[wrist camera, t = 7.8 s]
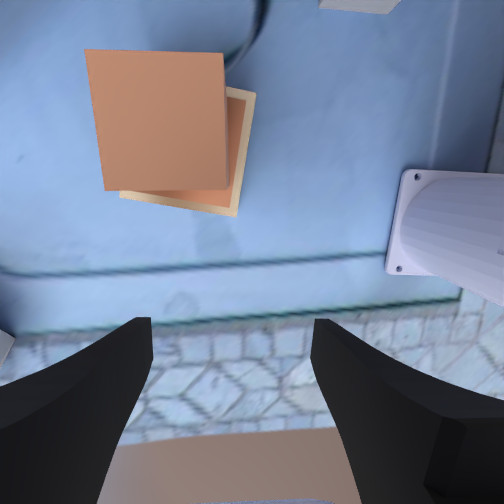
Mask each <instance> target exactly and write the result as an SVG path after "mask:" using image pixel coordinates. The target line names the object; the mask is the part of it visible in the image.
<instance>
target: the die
mask: <svg viewBox="0 0 504 504" xmlns="http://www.w3.org/2000/svg"><path fill="white" fill-rule="evenodd" d="M14 340H15V338H14V337H12V336H10V335H9V334H7V333H5V332H4V331H2V330H0V369H1V367H2V365H3V363H4V361H5V359H6V357H7V355H8V353H9V351H10V348H11V346H12V344H13V342H14Z"/></svg>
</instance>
